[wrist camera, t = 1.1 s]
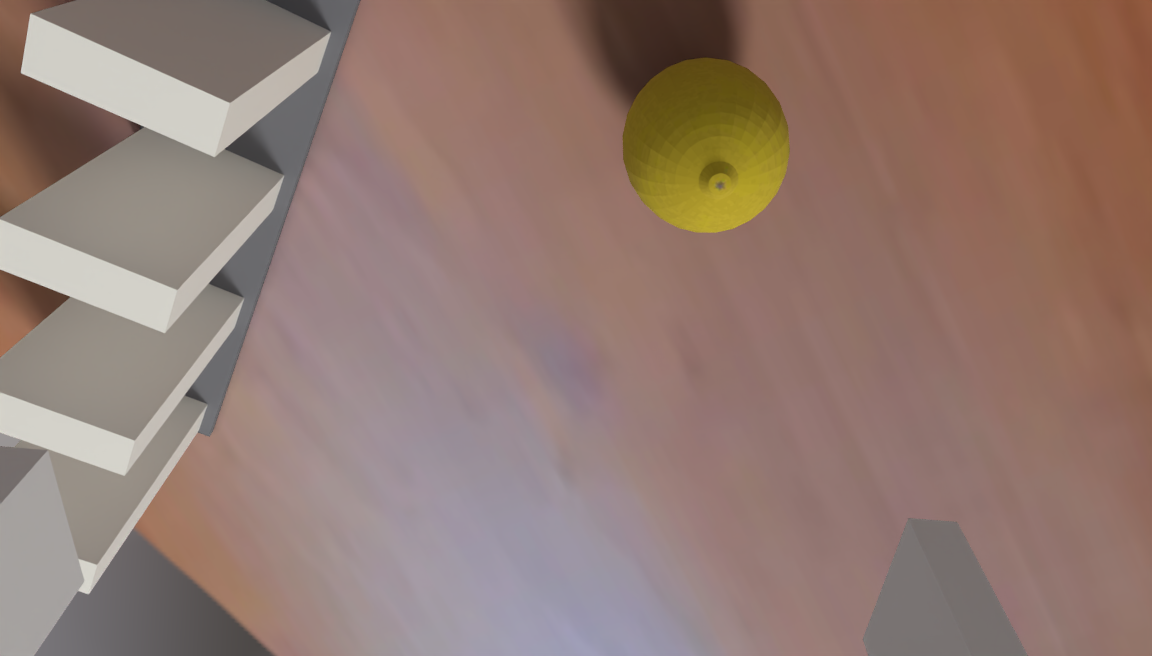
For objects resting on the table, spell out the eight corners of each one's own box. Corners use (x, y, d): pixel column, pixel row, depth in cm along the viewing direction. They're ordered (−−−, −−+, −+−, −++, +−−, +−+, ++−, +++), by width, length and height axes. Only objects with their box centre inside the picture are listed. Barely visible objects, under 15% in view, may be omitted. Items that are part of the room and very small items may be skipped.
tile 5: (95, 362, 38) (-53, 516, 29) (207, 404, 39) (97, 564, 30) (89, 389, 38) (-58, 547, 30) (199, 429, 39) (88, 594, 31)
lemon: (594, 147, 33) (596, 226, 26) (661, 11, 31) (683, 58, 24) (718, 204, 34) (752, 295, 27) (793, 78, 32) (851, 141, 25)
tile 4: (125, 249, 35) (-29, 381, 26) (244, 298, 36) (135, 440, 27) (117, 281, 36) (-35, 420, 27) (234, 327, 37) (124, 476, 28)
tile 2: (193, -35, 30) (30, 13, 21) (331, 31, 31) (230, 103, 22) (183, 9, 30) (20, 73, 22) (318, 72, 32) (214, 157, 23)
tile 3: (156, 119, 32) (-3, 218, 24) (284, 175, 33) (177, 289, 25) (147, 156, 33) (-10, 265, 24) (272, 210, 34) (164, 333, 25)
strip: (230, -232, 27) (226, -233, 27) (407, -138, 29) (405, -138, 28) (82, 383, 39) (77, 388, 38) (212, 431, 40) (209, 436, 40)
